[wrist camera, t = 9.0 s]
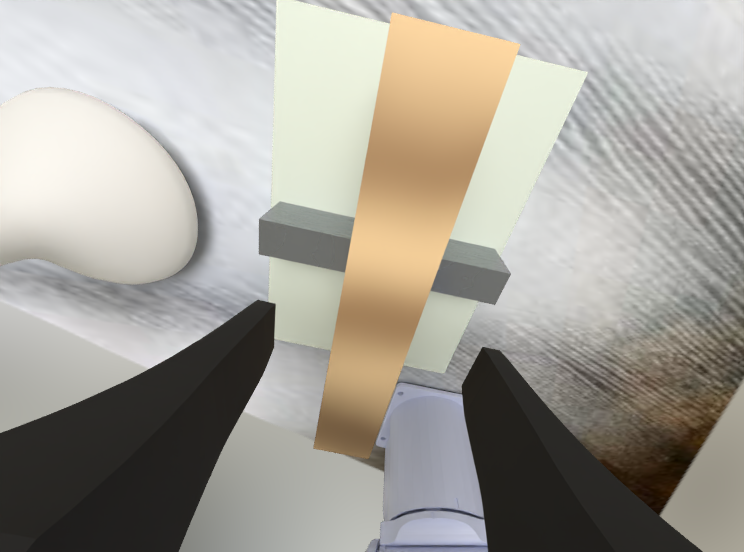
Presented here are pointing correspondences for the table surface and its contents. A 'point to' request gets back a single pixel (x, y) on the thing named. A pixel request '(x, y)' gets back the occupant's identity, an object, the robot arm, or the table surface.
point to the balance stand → (345, 170)
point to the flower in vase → (90, 190)
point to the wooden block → (406, 212)
